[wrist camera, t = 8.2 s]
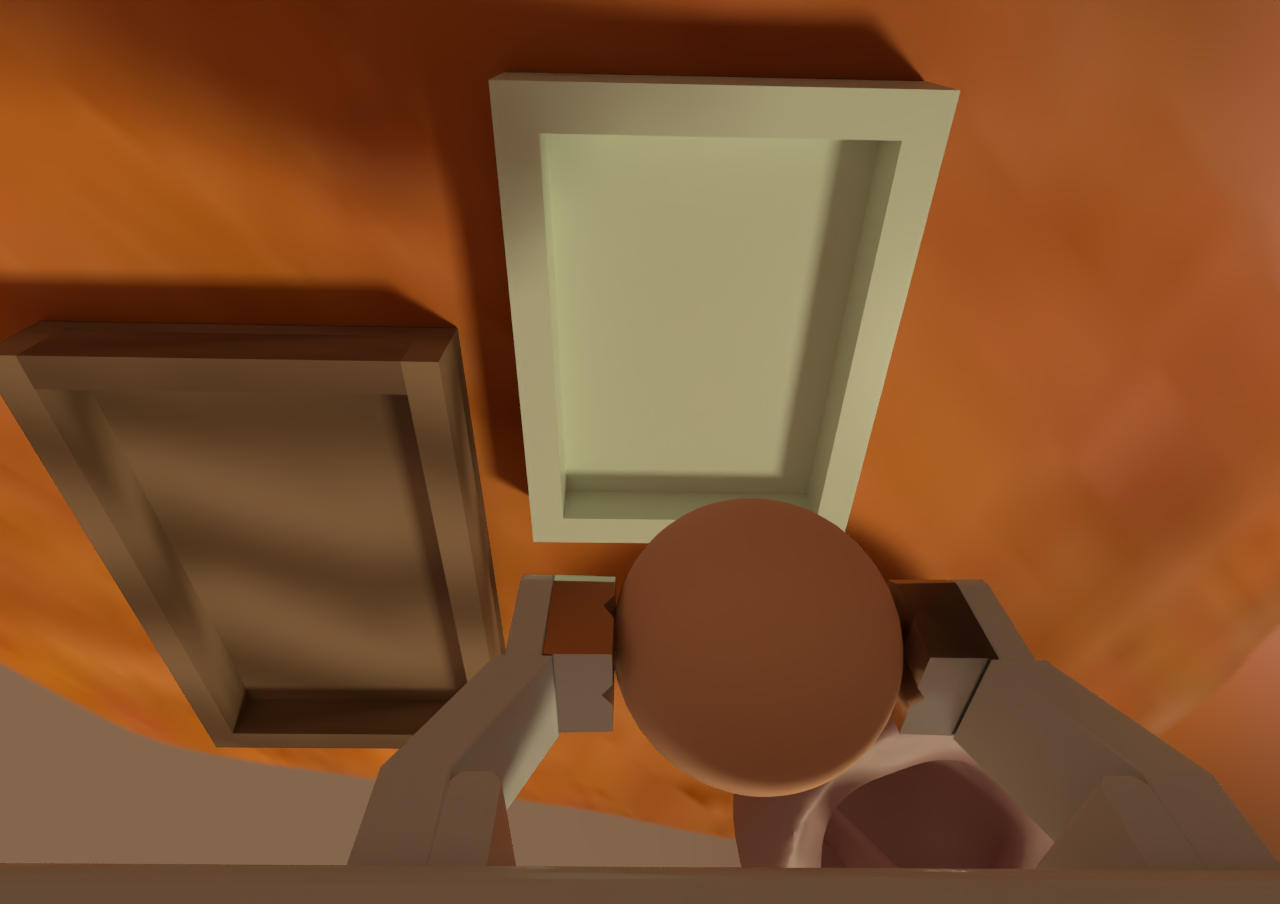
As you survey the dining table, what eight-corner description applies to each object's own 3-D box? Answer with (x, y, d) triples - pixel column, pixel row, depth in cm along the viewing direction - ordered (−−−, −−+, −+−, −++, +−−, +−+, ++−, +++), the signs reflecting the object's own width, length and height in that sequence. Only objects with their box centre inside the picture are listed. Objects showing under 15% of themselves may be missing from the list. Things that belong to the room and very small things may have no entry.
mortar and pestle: (1062, 627, 27) (1299, 971, 17) (889, 774, 33) (991, 1086, 23) (809, 541, 24) (923, 894, 14) (672, 720, 30) (689, 1048, 21)
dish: (40, 321, 19) (-24, 355, 17) (457, 327, 19) (438, 362, 17) (242, 700, 29) (216, 747, 27) (513, 702, 29) (504, 749, 27)
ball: (615, 624, 13) (608, 855, 10) (615, 442, 11) (605, 660, 7) (831, 626, 13) (905, 858, 10) (879, 446, 11) (1003, 663, 7)
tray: (504, 72, 15) (488, 80, 14) (925, 81, 15) (960, 90, 14) (540, 502, 23) (533, 541, 21) (826, 506, 23) (841, 545, 21)
